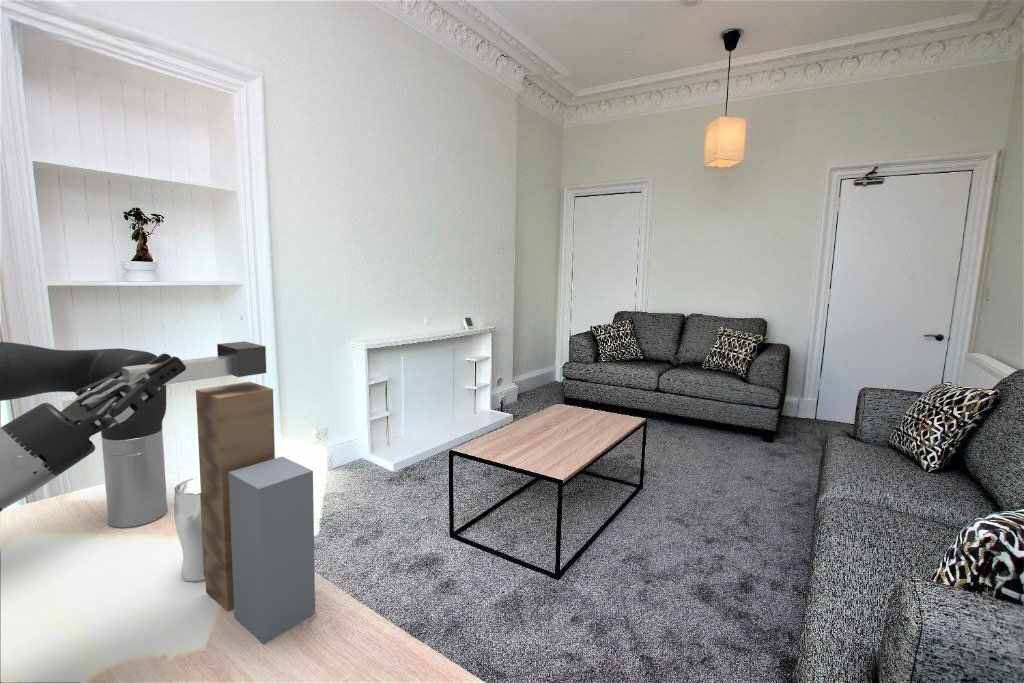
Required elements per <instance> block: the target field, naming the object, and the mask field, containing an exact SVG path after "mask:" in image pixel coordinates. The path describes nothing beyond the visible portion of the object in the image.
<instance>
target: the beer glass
mask: <svg viewBox="0 0 1024 683" xmlns="http://www.w3.org/2000/svg"><path fill="white" fill-rule="evenodd" d="M173 489H174V498H173V508H174V509H173V513H174V514H173V516H174V523H175V528H176V532H177V535H178V539H179V542H180V546H181V550H182V559H183V560H182V567H181V573H180V577H181V578H182V580H184V581H185V582H190V583H198V582H202V581H204V582H205V563H204V543H203V524H202V504H201V484H200V476H196V477H192V478H188V479H186V480H183V481H181V482H180V483H178V484H176V486H175V487H174V488H173Z"/></svg>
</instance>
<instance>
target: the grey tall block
mask: <svg viewBox="0 0 1024 683" xmlns="http://www.w3.org/2000/svg"><path fill="white" fill-rule="evenodd" d="M228 474H229V498H230V522H231V546H232V570H233V594H234V609H233V613H234V614H233V615H234V619H235V620H236V621H237V622H238V623H239V624H240V625H242V626H243V627H244V628H245V629H246V630H247V631H248V632H249V633H250V634H251V635H253V637H255V638H256V639H257V640H258V641H259V642H260V643H261V644H263V645H265V644H267V643H269V642H270V641H272V640H273V639H275V638H277V637H278V636H280V635H282V634H283V633H285V632H286V631H288V630H290V629H291V628H293V627H295V626H296V625H298V624H300V623H302V622H303V621H305V620H306V619H309V618H310V617H311V616H313V615H315V614H316V591H315V590H316V589H315V588H316V586H315V585H316V583H315V582H316V581H315V580H316V577H315V572H316V570H315V525H314V524H315V521H314V520H315V519H314V518H315V517H314V514H315V512H314V470H312V469H310V468H308V467H305V466H304V465H302V464H299V463H297V462H294V461H292V460H291V459H288V458H286V457H284V456H278V457H275V459H271V460H268V461H265V462H261V463H258V464H255V465H251V466H248V467H244V468H241V469H238V470H234V471H231V472H228Z"/></svg>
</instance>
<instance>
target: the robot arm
mask: <svg viewBox="0 0 1024 683" xmlns="http://www.w3.org/2000/svg"><path fill="white" fill-rule="evenodd" d="M181 360H182V359H181V358H179V357H178V356H171V355H170V354H168V353H166V352H165V353H161V354H159V355H156V354H155V353H152V352H149V351H145V350H144V351H143V350H135V349H127V348H103V349H102V348H100V349H99V348H98V349H71V350H70V349H69V350H68V349H67V350H66V349H53V348H46V347H42V346H36V345H31V344H26V343H25V344H24V343H18V342H17V343H16V342H8V341H0V402H3V401H10V400H16V399H23V398H28V397H32V396H36V395H40V394H47V393H74V394H75V395H76V396H77V397H76V398H75V399H74V400H75V401H74V400H73V402H71V403H70V404H69V405H68V406H66V407H65V408H63V409H62V410H61V411H60V410H59V409H58V408H57V407H55V406H54V405H53V404H51V403H49V402H43V403H39V405H37V406H35V407H33V408H31V409H30V410H28V411H26V412H25V413H23V414H22V415H20V416H18V417H16V418H14V419H13V420H11V421H9V422H7V423H6V424H4V425H2V426H0V512H2V511H3V510H4V509H6V508H8V507H10V506H12V505H13V504H16V502H18V501H21V500H23V499H25V498H26V497H28V496H30V495H31V494H33V493H35V492H36V491H38V490H39V489H40V488H43V487H44V486H45V485H47V484H48V483H50V482H51V481H52V480H54V479H56V478H57V477H59V476H60V475H61V474H63V473H65V471H67V470H69V469H70V468H72V467H73V466H74V465H76V464H78V463H79V462H80V461H82V460H83V459H85V458H86V457H88V456H90V455H91V454H93V453H94V452H95V451H96V445H95V444H94V442H92V441H91V439H90V438H91V437H92V436H94V435H96V434H98V433H101V434H100V436H101V445H102V447H101V448H102V459H103V469H104V471H103V472H104V481H105V482H104V483H105V494H106V495H105V496H106V497H105V498H106V508H107V510H106V511H107V520H108V525H110V526H111V527H114V528H131V527H132V528H133V527H137V526H142V525H146V524H149V523H151V522H153V521H156V520H159V519H160V518H161V517H163V516H164V515H165V514H166V513H167V512H168V500H167V484H166V483H167V481H166V480H167V479H166V466H165V451H164V448H165V446H164V435H163V420H164V418H165V415H166V412H167V385H163V384H165V383H167V382H168V381H170V380H171V379H173V378H174V377H176V376H177V375H179V374H180V373H182V372H184V371H185V370H186V366H185V365H184V364H183V362H182V361H181ZM155 363H161V364H160V365H158V366H156V367H155V368H154V369H152V370H150V371H149V372H147V373H146V374H143V375H141V376H140V377H138V378H136V379H135V380H133V381H131V382H129V383H125V382H123V380H122V369H121V367H127V366H136V365H145V364H155Z"/></svg>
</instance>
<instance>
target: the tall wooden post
mask: <svg viewBox="0 0 1024 683" xmlns="http://www.w3.org/2000/svg"><path fill="white" fill-rule="evenodd" d="M195 399H196V402H195V403H196V404H195V405H196V418H197V419H196V423H197V440H198V460H199V461H198V464H199V477H200V484H201V504H202V524H203V543H204V563H205V580H204V582H205V593H206V594H208V595H209V596H210V598H211V599H213V600H214V601H215V602H216V603H218V605H220V606H221V607H222V608H223V609H224V610H225V611H226V612H229V613H230V611H232V610H234V594H233V570H232V546H231V522H230V498H229V474H228V472H231V471H234V470H238V469H241V468H244V467H248V466H251V465H255V464H258V463H261V462H265V461H268V460H271V459H275V458H276V452H275V451H276V449H275V415H274V414H275V413H274V412H275V411H274V388H271V387H268V386H265V385H261V384H259V383H256V382H252V381H243V382H237V383H236V382H235V383H231V384H225V385H224V384H223V385H217V386H212V387H211V386H210V387H204V388H200V389H199V388H198V389H195Z"/></svg>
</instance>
